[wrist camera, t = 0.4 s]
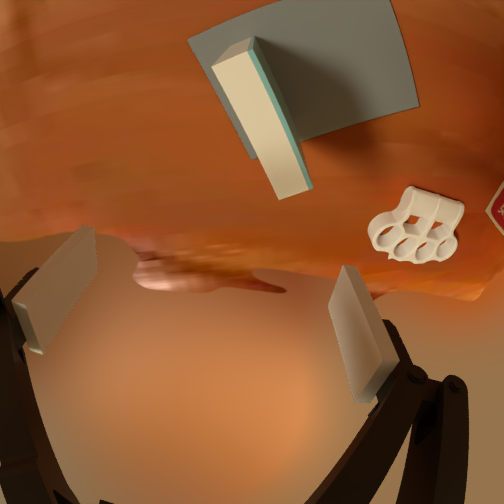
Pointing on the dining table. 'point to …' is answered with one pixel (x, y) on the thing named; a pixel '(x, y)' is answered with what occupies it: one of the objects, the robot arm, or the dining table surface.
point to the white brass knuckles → (418, 227)
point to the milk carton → (497, 209)
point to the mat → (321, 61)
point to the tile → (264, 116)
